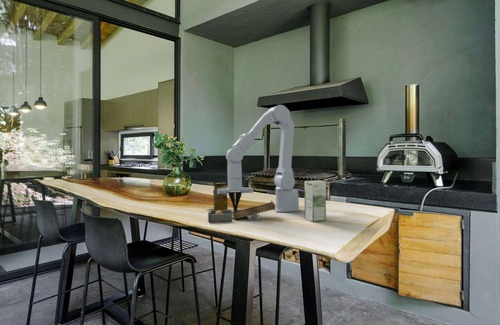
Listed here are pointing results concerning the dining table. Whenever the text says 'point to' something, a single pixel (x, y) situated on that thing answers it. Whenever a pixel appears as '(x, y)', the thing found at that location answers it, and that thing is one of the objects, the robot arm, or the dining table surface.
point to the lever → (253, 210)
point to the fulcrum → (254, 217)
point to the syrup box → (315, 200)
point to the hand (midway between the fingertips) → (235, 210)
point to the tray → (219, 216)
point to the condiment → (220, 198)
